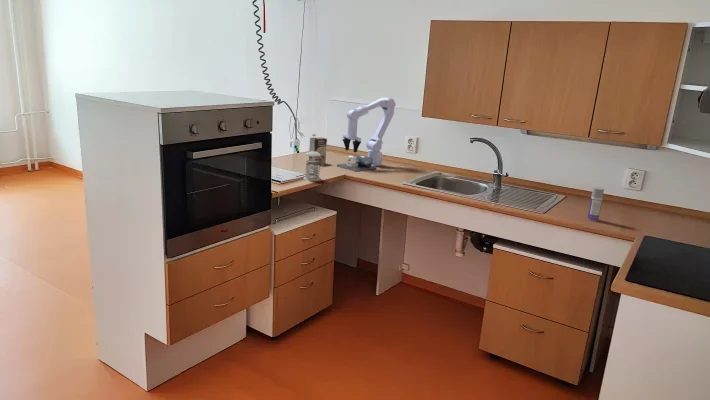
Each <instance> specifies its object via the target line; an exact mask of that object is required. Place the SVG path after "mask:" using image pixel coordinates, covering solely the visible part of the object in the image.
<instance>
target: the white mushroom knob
mask: <svg viewBox="0 0 710 400" xmlns="http://www.w3.org/2000/svg"><path fill="white" fill-rule="evenodd" d="M357 158H358V157H357V156H354V155H348V158H347V160H346V161H347V162H349V164H356V160H357Z"/></svg>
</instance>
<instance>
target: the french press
mask: <svg viewBox="0 0 710 400" xmlns="http://www.w3.org/2000/svg"><path fill="white" fill-rule="evenodd" d="M311 135H312V137H316V136H317V134H316V133H313V134H311ZM320 155H321V154H319V153H318V152H314V145H313V151H311V152H306V153H305V156H308V157H309V156H318V157H320ZM320 158H322V157H320ZM320 158H318V159H320ZM322 159H323V158H322ZM322 159H321V160H322ZM317 163H319V161H315V160H309V159H307V160H306V163H305V176H304V177H303V180H306V181H313V182H315V181H316V182H317V181H321V177H320V170H321V169H323V166H324V160H323V164H317Z"/></svg>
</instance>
